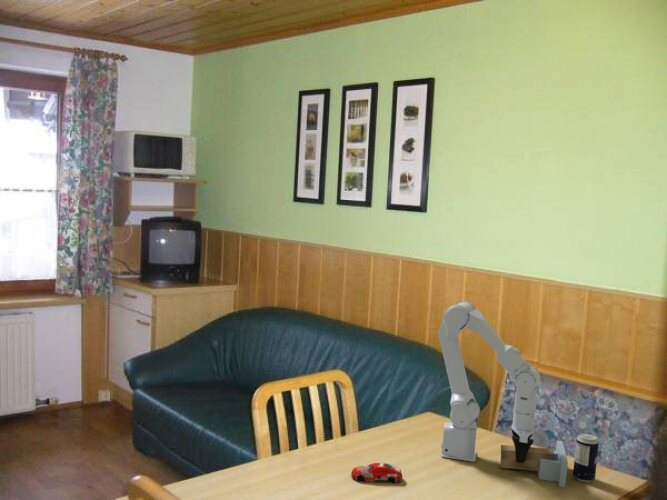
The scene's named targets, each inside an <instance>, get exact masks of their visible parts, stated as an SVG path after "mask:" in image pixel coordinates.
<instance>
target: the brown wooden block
mask: <svg viewBox="0 0 667 500" xmlns="http://www.w3.org/2000/svg"><path fill="white" fill-rule="evenodd" d="M554 451H555V450H554V448H546V447H532V446H531V447H530V448H529V450H528V453H527V457H526V460H525V462H524V463H520V462H517V461H516V452H515V445H507V444H500V469H501V468H503V469H513V470H514V469H516V470H523V471H524V470H525V471H537V472H538V471H539V465H540V458H542V459H548V460H554Z"/></svg>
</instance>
